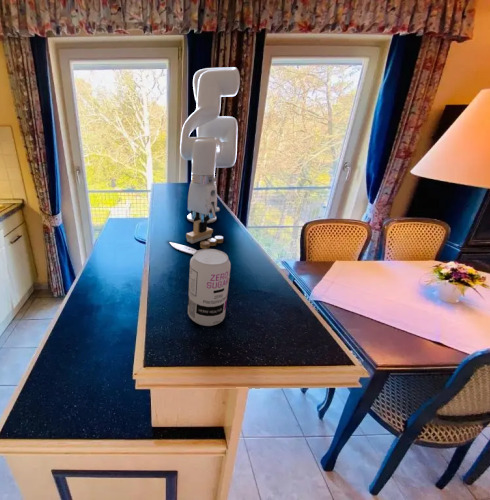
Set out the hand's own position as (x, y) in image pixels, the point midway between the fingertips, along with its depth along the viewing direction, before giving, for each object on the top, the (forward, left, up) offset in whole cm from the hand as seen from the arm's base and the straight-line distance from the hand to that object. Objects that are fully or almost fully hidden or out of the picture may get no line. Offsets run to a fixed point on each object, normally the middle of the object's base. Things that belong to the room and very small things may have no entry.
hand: (199, 230), depth 101 cm
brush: (0, 0, -3) cm, 3 cm away
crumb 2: (-4, +6, -3) cm, 8 cm away
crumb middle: (0, +6, -3) cm, 7 cm away
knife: (+12, +10, -4) cm, 16 cm away
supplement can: (+31, +31, -4) cm, 44 cm away
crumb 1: (+3, +6, -4) cm, 8 cm away
